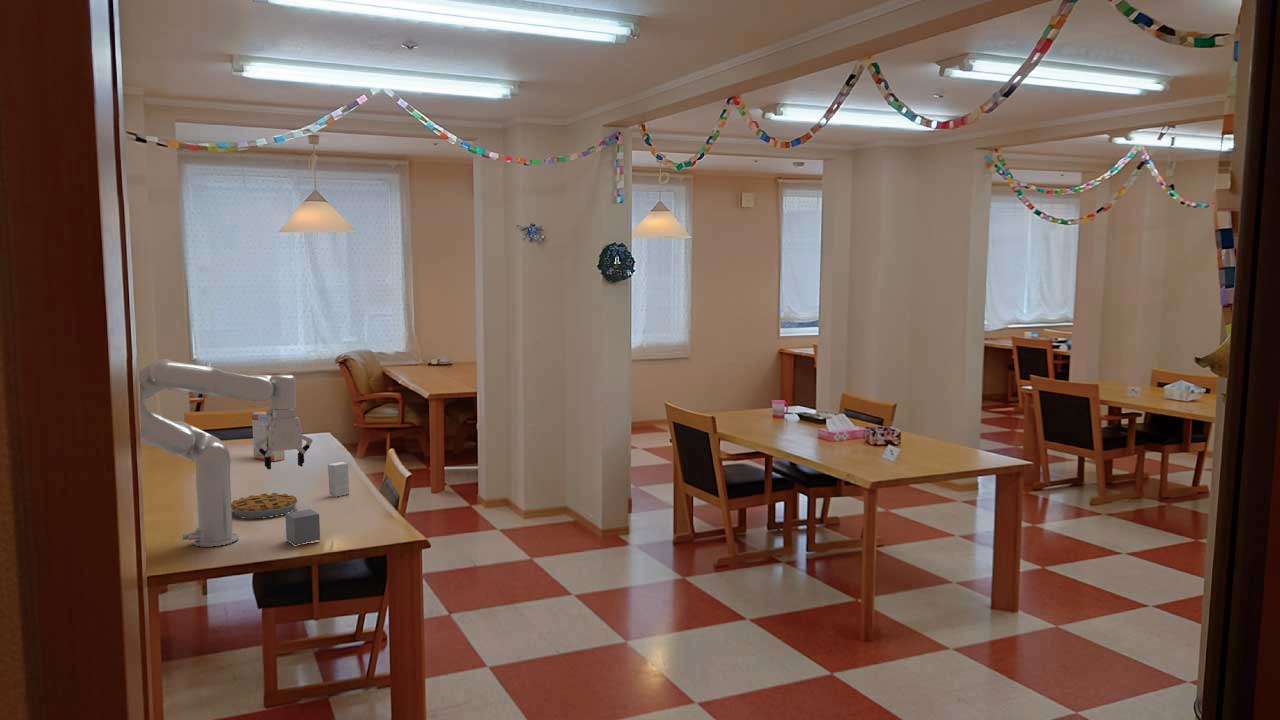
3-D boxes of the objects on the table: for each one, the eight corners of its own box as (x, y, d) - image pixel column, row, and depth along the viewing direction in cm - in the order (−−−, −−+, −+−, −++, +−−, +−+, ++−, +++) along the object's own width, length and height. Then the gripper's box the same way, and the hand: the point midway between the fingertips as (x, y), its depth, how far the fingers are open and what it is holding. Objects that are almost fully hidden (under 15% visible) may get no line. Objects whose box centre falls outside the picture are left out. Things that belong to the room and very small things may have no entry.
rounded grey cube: (295, 546, 286) (293, 518, 286) (286, 541, 292) (285, 513, 292) (320, 542, 291) (319, 514, 290) (311, 536, 297) (310, 509, 296)
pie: (221, 511, 329) (221, 497, 329) (285, 501, 343) (284, 488, 343) (242, 524, 313) (241, 509, 312) (307, 513, 327) (307, 499, 326)
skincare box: (343, 492, 355) (341, 461, 354) (349, 494, 352) (348, 462, 351) (328, 495, 351) (327, 464, 349) (335, 497, 348) (334, 465, 347)
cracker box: (285, 459, 417) (283, 412, 415) (273, 462, 412) (271, 414, 410) (265, 456, 425) (263, 410, 423) (253, 459, 420) (251, 412, 418)
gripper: (257, 417, 291) (258, 472, 293) (314, 413, 301) (315, 466, 302) (252, 414, 297) (253, 468, 299) (308, 410, 307) (309, 462, 309)
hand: (284, 467), depth 301 cm, fingers open, 9 cm apart
